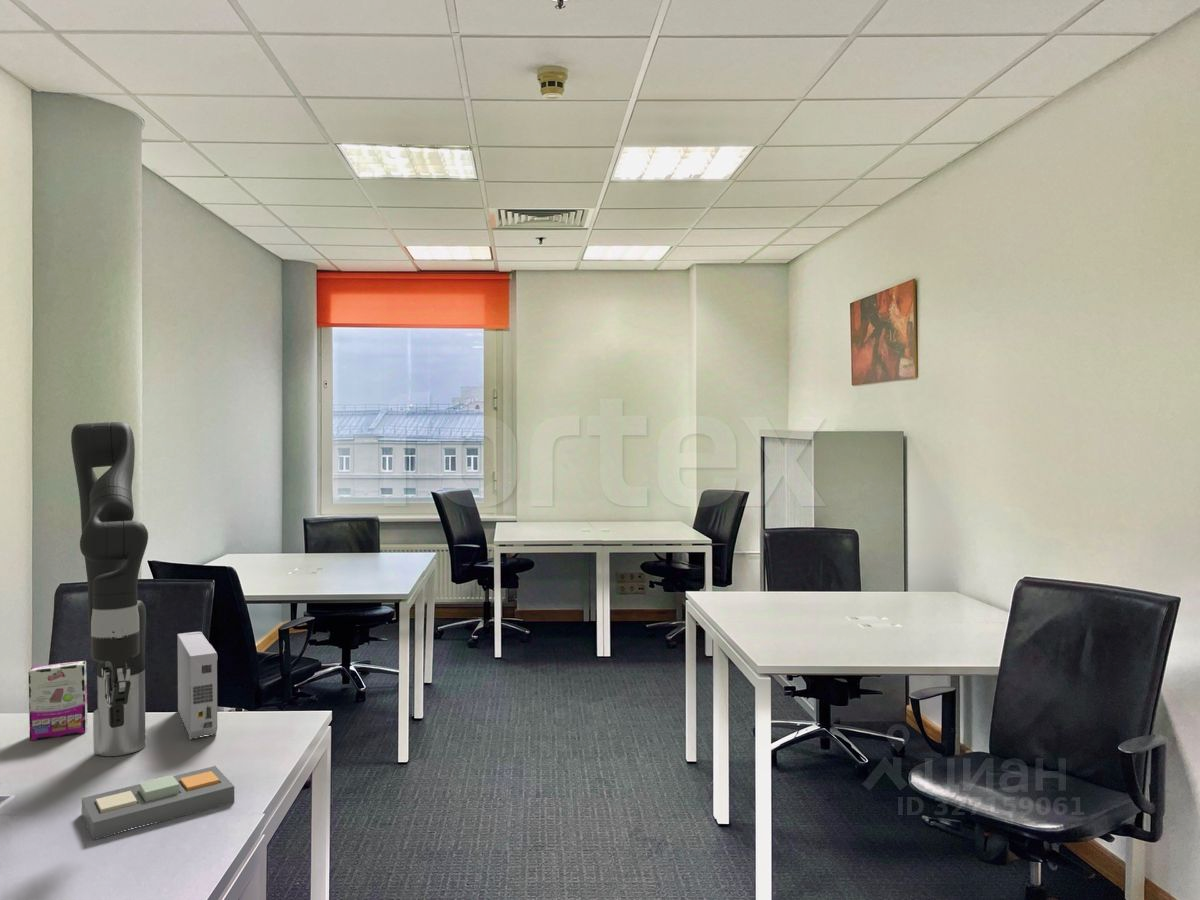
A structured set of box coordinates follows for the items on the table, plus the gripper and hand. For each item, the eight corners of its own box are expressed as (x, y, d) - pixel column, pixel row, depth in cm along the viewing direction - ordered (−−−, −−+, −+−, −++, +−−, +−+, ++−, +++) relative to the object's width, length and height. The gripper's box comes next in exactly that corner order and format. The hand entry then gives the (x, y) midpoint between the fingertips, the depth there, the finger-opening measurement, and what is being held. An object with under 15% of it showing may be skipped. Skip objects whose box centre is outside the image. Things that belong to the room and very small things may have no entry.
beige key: (101, 820, 143) (101, 809, 143) (95, 810, 147) (95, 799, 147) (136, 811, 147) (136, 800, 147) (130, 801, 151) (130, 790, 151)
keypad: (93, 840, 139) (93, 822, 139) (81, 814, 149) (81, 798, 149) (234, 801, 154) (234, 786, 154) (215, 780, 164) (215, 765, 164)
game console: (202, 707, 211) (202, 630, 211) (218, 737, 188) (218, 652, 188) (178, 711, 208) (177, 633, 208) (191, 743, 185) (190, 656, 185)
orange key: (187, 798, 152) (187, 787, 152) (180, 788, 156) (180, 778, 156) (219, 790, 156) (219, 779, 156) (211, 780, 160) (211, 770, 160)
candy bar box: (87, 727, 196) (87, 659, 196) (85, 733, 192) (85, 664, 192) (32, 734, 191) (31, 665, 191) (28, 741, 187) (28, 670, 187)
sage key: (145, 803, 147) (145, 792, 147) (139, 793, 152) (139, 782, 152) (179, 794, 151) (179, 784, 151) (172, 785, 155) (172, 774, 155)
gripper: (85, 627, 149) (86, 721, 150) (97, 641, 139) (98, 741, 139) (131, 622, 154) (132, 712, 154) (146, 634, 144) (147, 731, 144)
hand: (116, 725), depth 147 cm, fingers closed
